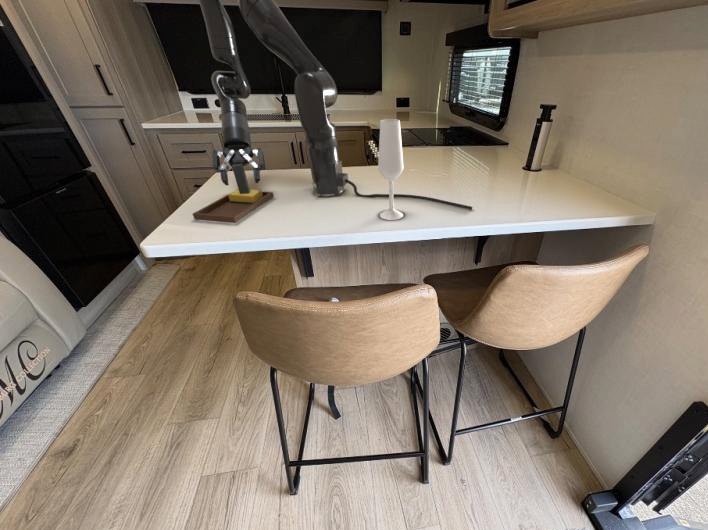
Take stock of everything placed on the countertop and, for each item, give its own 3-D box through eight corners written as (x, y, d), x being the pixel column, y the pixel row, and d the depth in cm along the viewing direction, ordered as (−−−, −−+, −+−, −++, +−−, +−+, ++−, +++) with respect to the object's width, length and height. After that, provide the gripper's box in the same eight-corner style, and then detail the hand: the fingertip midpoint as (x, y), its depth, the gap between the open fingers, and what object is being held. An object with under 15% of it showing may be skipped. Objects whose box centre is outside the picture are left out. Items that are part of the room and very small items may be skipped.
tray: (274, 198, 105) (272, 192, 104) (236, 224, 89) (233, 217, 88) (238, 196, 107) (236, 189, 106) (195, 221, 91) (192, 213, 90)
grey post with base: (263, 198, 103) (254, 163, 97) (254, 204, 99) (244, 168, 93) (240, 196, 105) (230, 161, 98) (230, 202, 100) (219, 166, 94)
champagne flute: (401, 210, 97) (402, 118, 83) (404, 219, 92) (405, 122, 77) (379, 211, 96) (375, 118, 82) (380, 220, 91) (377, 123, 77)
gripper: (205, 125, 95) (210, 178, 93) (257, 124, 98) (263, 174, 96) (215, 142, 102) (220, 190, 100) (263, 140, 105) (269, 187, 103)
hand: (241, 183), depth 98 cm, fingers open, 8 cm apart
